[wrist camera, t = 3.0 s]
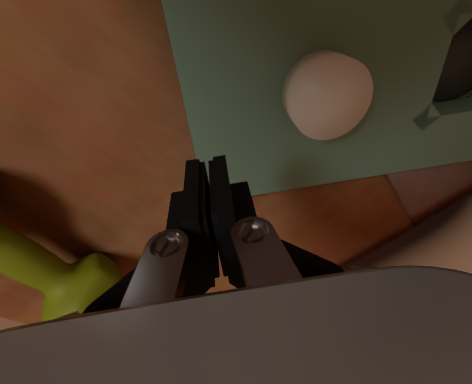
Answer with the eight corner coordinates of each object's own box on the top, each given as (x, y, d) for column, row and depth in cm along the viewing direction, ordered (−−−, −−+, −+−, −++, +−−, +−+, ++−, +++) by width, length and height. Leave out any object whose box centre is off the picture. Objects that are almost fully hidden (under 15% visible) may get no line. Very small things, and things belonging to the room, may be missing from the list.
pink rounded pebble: (280, 55, 17) (292, 63, 15) (359, 44, 17) (381, 50, 15) (281, 130, 20) (291, 145, 18) (348, 120, 20) (365, 134, 18)
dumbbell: (135, 257, 30) (120, 321, 24) (81, 286, 31) (55, 353, 26) (-21, 140, 20) (-106, 199, 15) (-85, 191, 22) (-184, 261, 16)
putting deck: (156, -43, 16) (150, -48, 14) (621, -104, 16) (681, -118, 14) (205, 186, 25) (206, 202, 23) (498, 139, 26) (524, 151, 24)
